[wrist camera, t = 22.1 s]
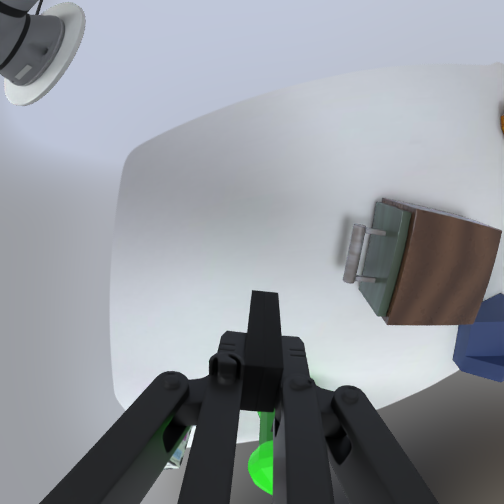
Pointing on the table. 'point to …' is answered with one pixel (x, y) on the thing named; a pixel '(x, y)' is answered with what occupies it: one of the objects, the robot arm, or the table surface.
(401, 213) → the drawer
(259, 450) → the plastic bottle
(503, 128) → the decorative tree
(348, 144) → the table surface
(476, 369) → the phone stand
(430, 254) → the cabinet
